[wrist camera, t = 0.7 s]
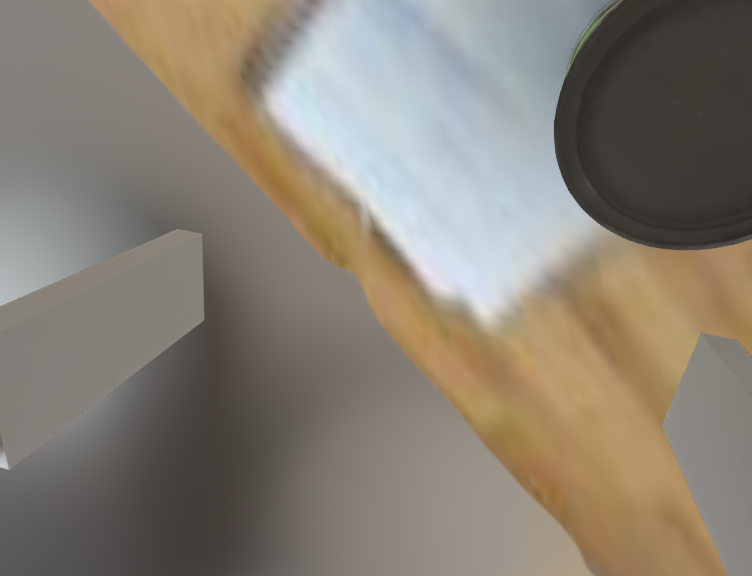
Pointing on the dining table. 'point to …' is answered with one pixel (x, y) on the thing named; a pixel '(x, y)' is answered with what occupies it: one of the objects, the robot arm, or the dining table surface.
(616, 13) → the coffee can
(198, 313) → the robot arm
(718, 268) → the dining table surface
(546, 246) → the dining table surface
